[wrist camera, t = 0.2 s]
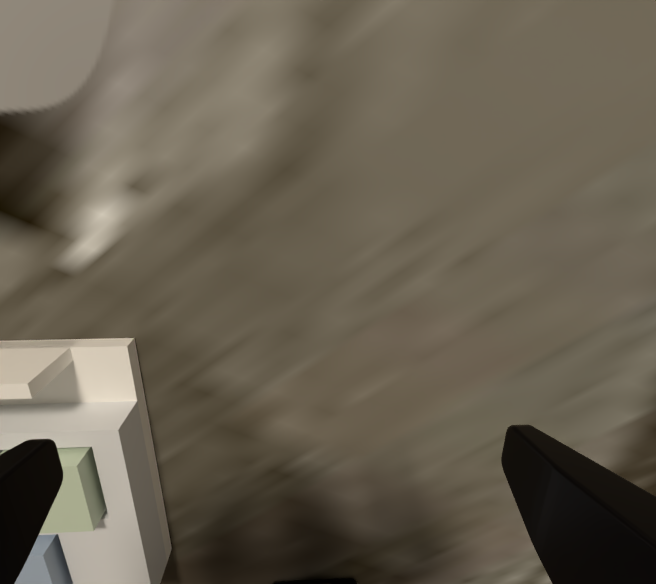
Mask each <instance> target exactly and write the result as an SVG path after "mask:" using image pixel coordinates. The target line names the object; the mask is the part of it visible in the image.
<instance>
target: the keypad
mask: <svg viewBox="0 0 656 584" xmlns="http://www.w3.org/2000/svg"><path fill="white" fill-rule="evenodd" d="M30 439H51V440H53V441H54V442H55V444H56V447H57V448H71V447H92V449H93V454H94V458H95V462H96V466H97V470H98V474H99V478H100V482H101V487H102V491H103V495H104V499H105V503H106V507H107V508H106V510H105V512H104V514H103V516H102V517H101V519H100V521H99V523H98V525H97V526H96V528H95V530H94V531H85V532H63V533H41V534H39V535H54V534H58V536H59V539H60V542H61V546H62V549H63V552H64V555H65V559H66V562H67V565H68V568H69V572H70V575H71V578H72V581H73V584H160V583H161V580H162V577H163V574H164V571H165V568H166V565H167V562H168V559H169V556H170V553H171V550H172V547H171V541H170V535H169V530H168V524H167V518H166V513H165V507H164V501H163V496H162V490H161V485H160V479H159V473H158V468H157V462H156V456H155V451H154V445H153V439H152V434H151V428H150V423H149V417H148V411H147V406H146V400H145V394H144V389H143V383H142V377H141V372H140V366H139V361H138V355H137V349H136V344H135V338H110V339H61V340H12V341H0V453H1V452H2V451H3V450H10V449H11V448H13V447H15V446H17V445H19V444H21V443H23V442H25V441H27V440H30Z"/></svg>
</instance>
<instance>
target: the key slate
mask: <svg viewBox="0 0 656 584" xmlns="http://www.w3.org/2000/svg"><path fill="white" fill-rule="evenodd" d="M14 584H73V581H72V578H71V575H70V572H69V568H68V565H67V562H66V559H65V555H64V552H63V549H62V546H61V542H60V539H59V536H58V534H54V535H38V537H37V539H36V542H35V544H34V546H33V548H32V550H31V552H30V555H29V557H28V559H27V561H26V563H25V565H24V567H23V569H22V571H21V572H20V574H19V576H18V578H17V580H16V582H15V583H14Z"/></svg>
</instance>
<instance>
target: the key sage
mask: <svg viewBox="0 0 656 584" xmlns="http://www.w3.org/2000/svg"><path fill="white" fill-rule="evenodd" d="M57 450H58V454H59V458H60V461H61V465H62V469H63V481H62V485H61V487H60V490H59V492H58V494H57V496H56V498H55V500H54V503H53V505H52V507H51V509H50V511H49V513H48V516H47V518H46V520H45V522H44V524H43V526H42V529H41V531H40V533H39V534H41V533H63V532H85V531H94V530H95V528H96V526H97V525H98V523H99V521H100V519H101V517H102V516H103V514H104V512H105V510H106V508H107V507H106V503H105V499H104V495H103V491H102V487H101V482H100V478H99V474H98V470H97V466H96V462H95V458H94V454H93V449H92V447H71V448H57ZM6 451H8V450H3V451H2V452H1V453H0V454H2V453H4V452H6Z"/></svg>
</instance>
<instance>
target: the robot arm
mask: <svg viewBox="0 0 656 584" xmlns="http://www.w3.org/2000/svg"><path fill="white" fill-rule="evenodd" d="M502 467H503V471H504V473H505V476H506V478H507V481H508V483H509V486H510V488H511V491H512V493H513V496H514V498H515V501H516V503H517V506H518V509H519V511H520V514H521V516H522V519H523V521H524V524H525V526H526V529H527V531H528V534H529V536H530V538H531V541H532V543H533V545H534V547H535V550H536V552H537V554H538V556H539V558H540V560H541V562H542V564H543V566H544V568H545V570H546V572H547V574H548V576H549V578H550V580H551V581H552V583H553V584H656V497H655V496H654V495H652V494H650V493H648V492H647V491H645V490H643V489H641V488H640V487H638V486H636V485H634V484H633V483H631V482H629V481H627V480H626V479H624V478H622V477H620V476H619V475H617V474H615V473H613V472H612V471H610V470H608V469H606V468H605V467H603V466H601V465H599V464H598V463H596V462H594V461H592V460H591V459H589V458H587V457H585V456H584V455H582V454H580V453H578V452H577V451H575V450H573V449H571V448H570V447H568V446H566V445H564V444H563V443H561V442H559V441H557V440H555V439H554V438H552V437H550V436H548V435H547V434H545V433H543V432H541V431H540V430H538V429H536V428H534V427H533V426H531V425H511V426H510V427H508V429H507V432H506V436H505V442H504V447H503V452H502ZM62 481H63V469H62V465H61V461H60V458H59V454H58V450H57V447H56V444H55V442H54V441H53V440H51V439H30V440H27V441H25V442H23V443H21V444H19V445H17V446H15V447H13V448H11V449H10V450H8V451H6V452H4V453H2V454H0V584H14V583H15V582H16V580H17V578H18V576H19V574H20V572H21V571H22V569H23V567H24V565H25V563H26V561H27V559H28V557H29V555H30V552H31V550H32V548H33V546H34V544H35V542H36V539H37V537H38V535H39V533H40V531H41V529H42V526H43V524H44V522H45V520H46V518H47V516H48V513H49V511H50V509H51V507H52V505H53V503H54V500H55V498H56V496H57V494H58V492H59V490H60V487H61V485H62ZM274 584H357V581H356V580H354V579H338V580H319V581H300V582H282V583H274Z"/></svg>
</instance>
